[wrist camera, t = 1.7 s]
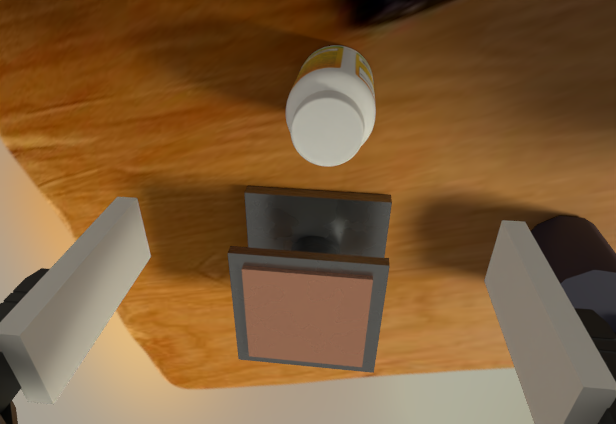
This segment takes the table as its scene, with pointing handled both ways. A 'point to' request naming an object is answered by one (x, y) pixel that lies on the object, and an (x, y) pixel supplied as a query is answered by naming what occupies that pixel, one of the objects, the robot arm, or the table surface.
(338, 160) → the supplement bottle
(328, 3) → the table surface
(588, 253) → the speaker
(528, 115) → the table surface
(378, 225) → the stand
